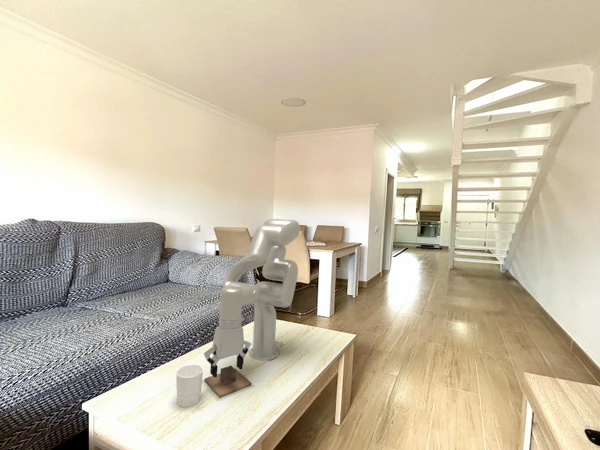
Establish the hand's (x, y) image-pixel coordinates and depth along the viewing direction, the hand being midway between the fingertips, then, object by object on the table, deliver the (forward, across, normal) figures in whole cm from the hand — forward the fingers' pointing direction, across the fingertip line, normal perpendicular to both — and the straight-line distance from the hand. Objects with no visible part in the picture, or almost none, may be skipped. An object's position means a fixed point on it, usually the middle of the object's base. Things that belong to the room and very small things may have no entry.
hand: (227, 371), depth 100 cm
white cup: (+6, +13, +1) cm, 14 cm away
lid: (+4, -1, 0) cm, 5 cm away
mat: (+5, -1, 0) cm, 5 cm away
